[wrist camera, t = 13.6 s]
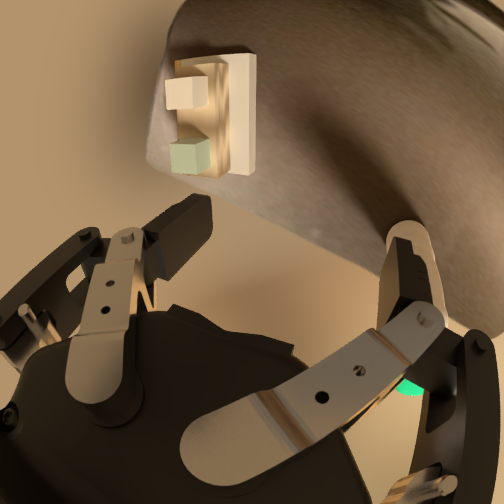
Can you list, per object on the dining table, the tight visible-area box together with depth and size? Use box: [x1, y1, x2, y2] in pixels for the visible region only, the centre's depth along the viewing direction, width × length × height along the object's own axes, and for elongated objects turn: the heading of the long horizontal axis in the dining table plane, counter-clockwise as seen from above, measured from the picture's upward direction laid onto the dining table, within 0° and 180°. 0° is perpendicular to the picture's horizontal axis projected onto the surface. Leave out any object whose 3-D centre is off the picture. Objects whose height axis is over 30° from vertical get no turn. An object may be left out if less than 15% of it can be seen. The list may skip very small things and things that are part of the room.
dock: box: [175, 53, 256, 175], centre depth 37 cm, size 18×12×3 cm, turn 0°
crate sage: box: [169, 138, 211, 175], centre depth 34 cm, size 4×4×4 cm
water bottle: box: [386, 220, 448, 396], centre depth 28 cm, size 7×7×25 cm
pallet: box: [175, 63, 231, 179], centre depth 34 cm, size 16×6×4 cm, turn 0°
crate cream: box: [165, 76, 208, 110], centre depth 29 cm, size 4×4×4 cm
